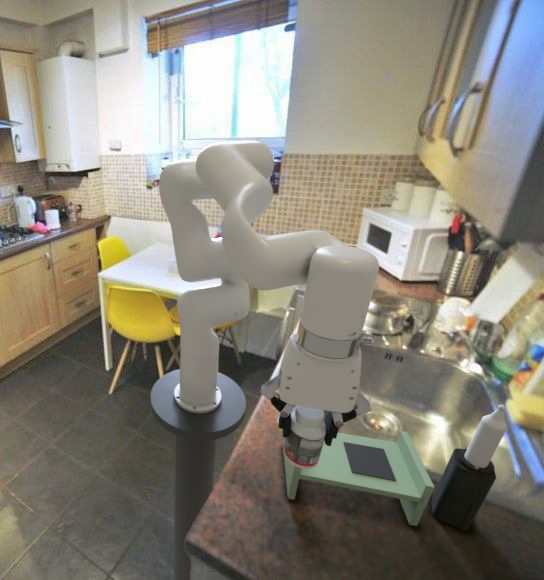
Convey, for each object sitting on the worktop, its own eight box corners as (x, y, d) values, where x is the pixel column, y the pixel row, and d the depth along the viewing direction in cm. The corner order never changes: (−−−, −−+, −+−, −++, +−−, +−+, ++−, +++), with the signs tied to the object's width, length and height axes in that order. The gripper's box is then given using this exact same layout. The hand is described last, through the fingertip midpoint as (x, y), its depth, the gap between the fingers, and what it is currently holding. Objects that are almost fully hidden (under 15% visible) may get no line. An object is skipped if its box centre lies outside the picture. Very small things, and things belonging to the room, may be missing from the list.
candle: (432, 517, 65) (483, 409, 54) (431, 495, 69) (478, 389, 58) (469, 533, 62) (530, 423, 52) (466, 509, 66) (522, 401, 55)
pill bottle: (278, 442, 62) (287, 397, 58) (311, 443, 62) (321, 398, 57) (288, 470, 57) (298, 423, 53) (323, 471, 57) (336, 424, 52)
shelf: (283, 448, 79) (289, 413, 75) (393, 468, 74) (407, 431, 70) (287, 498, 69) (295, 461, 64) (417, 526, 63) (434, 487, 59)
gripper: (390, 331, 50) (360, 427, 58) (261, 316, 55) (249, 408, 63) (409, 363, 44) (372, 467, 52) (261, 343, 48) (248, 442, 56)
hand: (305, 433), depth 57 cm, fingers closed on pill bottle, 5 cm apart
